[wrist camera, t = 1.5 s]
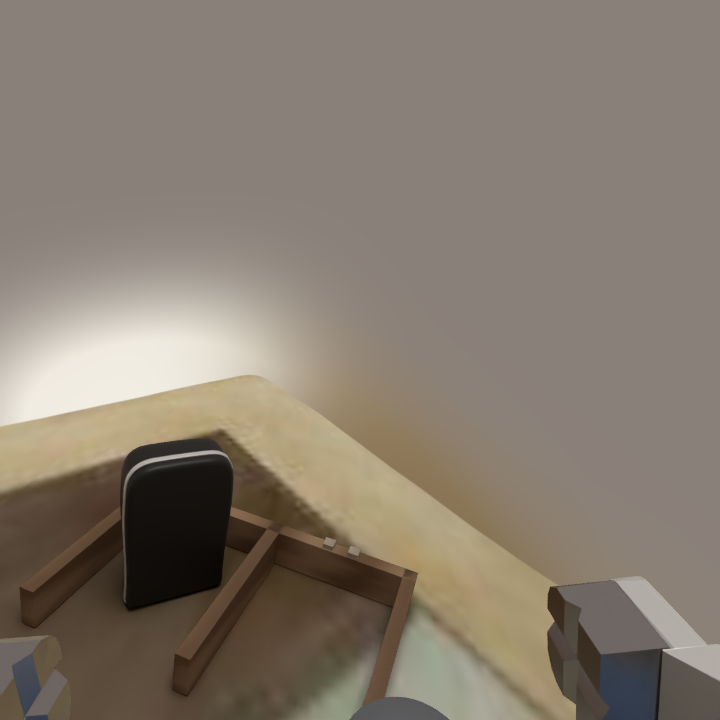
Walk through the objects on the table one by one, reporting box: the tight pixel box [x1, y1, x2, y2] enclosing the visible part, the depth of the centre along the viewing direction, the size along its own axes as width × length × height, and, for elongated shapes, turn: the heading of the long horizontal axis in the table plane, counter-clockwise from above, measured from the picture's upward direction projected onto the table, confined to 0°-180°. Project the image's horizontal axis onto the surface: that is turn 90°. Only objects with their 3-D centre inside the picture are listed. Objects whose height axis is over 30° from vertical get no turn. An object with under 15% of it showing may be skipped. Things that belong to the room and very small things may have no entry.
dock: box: [20, 507, 418, 707], centre depth 37 cm, size 23×13×3 cm, turn 73°
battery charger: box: [120, 438, 233, 608], centre depth 37 cm, size 7×4×11 cm, turn 121°
